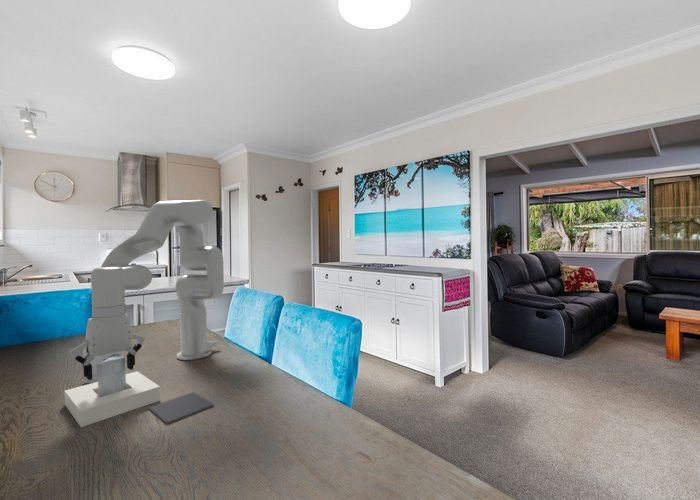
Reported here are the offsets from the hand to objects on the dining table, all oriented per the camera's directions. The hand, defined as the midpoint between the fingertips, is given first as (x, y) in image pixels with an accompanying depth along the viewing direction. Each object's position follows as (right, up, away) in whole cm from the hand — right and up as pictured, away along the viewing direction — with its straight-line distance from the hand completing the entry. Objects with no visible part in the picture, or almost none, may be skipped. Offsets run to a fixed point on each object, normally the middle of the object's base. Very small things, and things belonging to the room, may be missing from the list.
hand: (110, 373), depth 96 cm
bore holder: (0, -8, +1) cm, 8 cm away
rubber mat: (+21, -8, -3) cm, 23 cm away
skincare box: (0, -9, +1) cm, 9 cm away
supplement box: (-14, -8, +17) cm, 24 cm away
